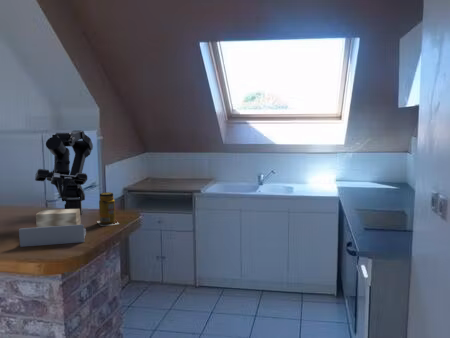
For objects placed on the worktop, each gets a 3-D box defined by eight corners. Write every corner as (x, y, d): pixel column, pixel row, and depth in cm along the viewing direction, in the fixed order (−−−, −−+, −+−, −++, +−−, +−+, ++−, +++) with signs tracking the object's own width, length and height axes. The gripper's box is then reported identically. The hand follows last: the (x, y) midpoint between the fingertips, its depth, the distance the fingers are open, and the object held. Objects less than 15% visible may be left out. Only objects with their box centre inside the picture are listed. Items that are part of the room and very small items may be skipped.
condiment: (114, 219, 182) (113, 191, 181) (119, 224, 175) (118, 194, 173) (96, 222, 179) (95, 192, 177) (100, 226, 171) (99, 196, 170)
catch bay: (27, 237, 158) (26, 221, 157) (87, 233, 162) (86, 217, 161) (20, 246, 147) (18, 229, 146) (84, 242, 151) (83, 224, 151)
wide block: (81, 229, 169) (79, 208, 168) (77, 234, 162) (75, 212, 161) (42, 230, 167) (41, 210, 166) (37, 236, 160) (35, 214, 159)
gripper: (80, 171, 189) (80, 205, 182) (33, 166, 179) (31, 203, 172) (87, 160, 180) (88, 195, 174) (38, 154, 170) (37, 192, 164)
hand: (61, 197), depth 171 cm, fingers closed
